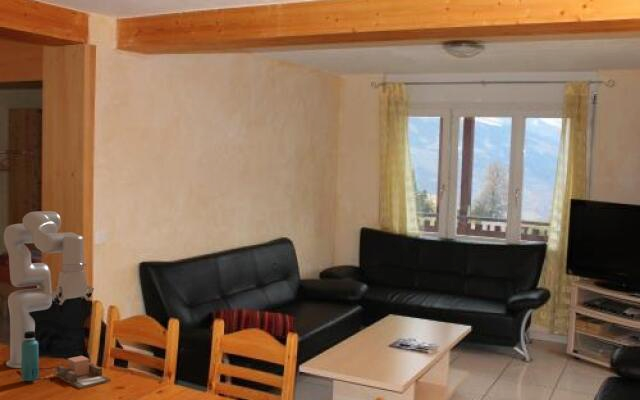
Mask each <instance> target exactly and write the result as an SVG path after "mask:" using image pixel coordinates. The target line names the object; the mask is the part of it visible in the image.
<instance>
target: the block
mask: <svg viewBox="0 0 640 400" xmlns="http://www.w3.org/2000/svg"><path fill="white" fill-rule="evenodd" d="M89 362H90V359H89V358H88V357H86V356H83V355H79V356H73V357H69V358H67V369H69V370H70V371H72V372H74V373H76V374H77V376H80V375H85V374H89Z"/></svg>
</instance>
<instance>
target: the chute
mask: <svg viewBox="0 0 640 400" xmlns="http://www.w3.org/2000/svg"><path fill="white" fill-rule="evenodd" d="M55 376H56V377H57V378H59V379H60V380H62V381H64V382H66V383H67V384H69V383H70V384H69V385H72V386H73V387H75V388H77V389H78V390H83V389H87V388H90V386H91V387H94V385H95V386H98V385H97V384H99V385H102V384H101V383H103V384H106V383H105V382H107V383H109V382H108V381H112V380H111V378H109V377H107V376H105V375H103V368H102V367H100V366H97V364H96V365H95V364H94V363H91V362H90V361H89V374H85V375H80V376H77V374H76V373H74V372H72V371H70V370H69V369H68V367H67V368H66V367H64V366H63V365H57V367H56V374H55Z"/></svg>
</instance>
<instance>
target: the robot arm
mask: <svg viewBox="0 0 640 400" xmlns="http://www.w3.org/2000/svg"><path fill="white" fill-rule="evenodd" d="M61 225H62V218H61V216H60V214H58V213H57V211H54V210H47V211H46V210H45V211H44V210H42V211H31V212H28V213H26V214H25V215H24V216H23V217H22V223H15V224H10V225H8V226H7V227H6V228H5V230H4V233H3V240H4V241H3V242H4V245H5V248H6V251H7V254H8V262H9V278H10V283H11V285H12V286H14V287H16V288H22V287H33V286H36V288H27V289H20V290H16V291H13V292H11V293H10V294H9V295H8V298H7V306H8V310H9V311H8V312H9V324H10V325H9V329H10V330H9V331H10V333H9V334H10V336H9V337H10V338H9V339H10V340H9V341H10V342H9V343H10V344H9V346H10V349H9V351H10V352H9V353H10V354H9V355H10V356H9V358H10V359H8V360H6V362H5V364H6V367H7V368H12V369H21V361H22V345H21V344H22V343H23V342H24V341H25V340H28V339H27V338H24V335H25V332H28V331H34V332H35V333H36V330H35V329H36V321H35V320H34V318H33V317H32V316H31V315H30V313H32V312H37V311H38V312H39V311H44V310H48V309H50V308H51V306H52V304H53V302H54V303H55V304H56V312H57V315H59V316H64V314H65V306H64V304H63V303H64V302H65V301H66V300H70V299H76V298H81V299H80V310H81V311H83V312H87V311H88V306H89V302H88V301H89V300H90V298H91V297H92V295H93V292H94V290H95V288H94V287H92V286H90V285H88V283H87V275H86V271H85V270H84V269H85V267H87V263H84V262H85V261H84V255H85V254H84V252H85V249H84V248H85V243H84V242H85V241H84V237H83V236H82V235H79V234H77V233H75V232H73V231H72V232H71V231H69V232H58V231H59V229H60V228H61V227H62V226H61ZM25 244H34V246H35V248H36V249H38V250H39V251H40V252H42V253H44V254H56V253H57V254H58V253H62V254H61V255H62V256H61V257H62V259H61V260H62V261H61V264H62V265H61V268H62V271H60V272H59V273H58V274H59V275H58V279H57V288H56V289H55V290H54V291H53V290H52V289H53V288H52V274H51V270H50V267H49V266H48V264H46V263H45V262H33V263H32V253H31V251H30V249H29V247H27V245H25ZM57 297H58V298H57ZM30 339H35V340H36V337H35V338H30Z"/></svg>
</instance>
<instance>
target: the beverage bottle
mask: <svg viewBox="0 0 640 400" xmlns="http://www.w3.org/2000/svg"><path fill="white" fill-rule="evenodd" d="M36 337H37V336H36V331H35V332H34V331H28V332H25V335H24V338H27V339H28V340H25V341H24V342H23V343H22V344H21V345H22V361H21V368H20V369H21V370H20V371H21V372H20V374H21V375H20V377H21V380H22V381H24V382H25V381H26V382H31V381H35V380H38V379H39V377H40V374H39V373H40V363H39V361H40V360H39V358H40V356H39V355H40V354H39V353H40V352H39V351H40V350H39V344H40V343H39V341H38V340H36ZM30 338H35V339H30Z"/></svg>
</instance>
